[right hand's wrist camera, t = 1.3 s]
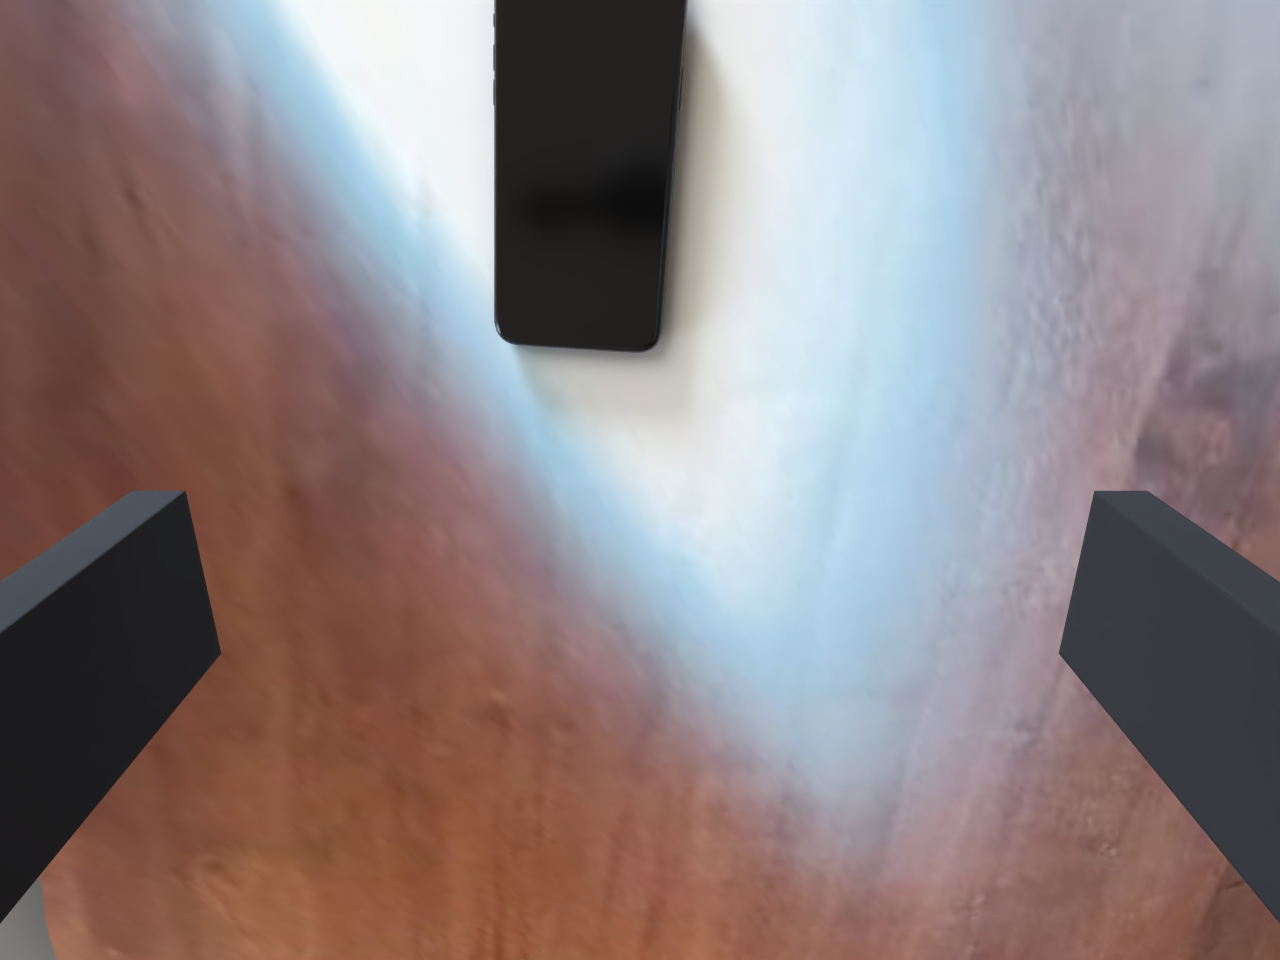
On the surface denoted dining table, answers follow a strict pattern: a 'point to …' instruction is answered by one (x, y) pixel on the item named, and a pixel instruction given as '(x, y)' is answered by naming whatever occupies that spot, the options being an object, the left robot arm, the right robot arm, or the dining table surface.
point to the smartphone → (584, 169)
